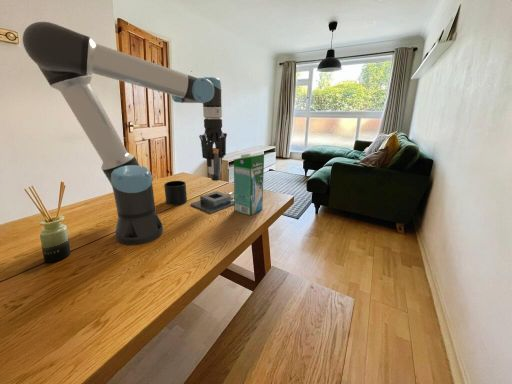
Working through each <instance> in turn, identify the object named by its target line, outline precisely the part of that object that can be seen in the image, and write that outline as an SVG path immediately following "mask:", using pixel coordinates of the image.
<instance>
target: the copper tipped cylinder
mask: <svg viewBox="0 0 512 384" xmlns="http://www.w3.org/2000/svg"><path fill="white" fill-rule="evenodd" d="M212 159H213V163H214V174H210V176H211V177H210V178H211V180H210V181H214V182H215V181H216V182H217V181H220V180H221V177H220V175H221V173H220V170H219V148H216V147H213V151H212Z"/></svg>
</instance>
